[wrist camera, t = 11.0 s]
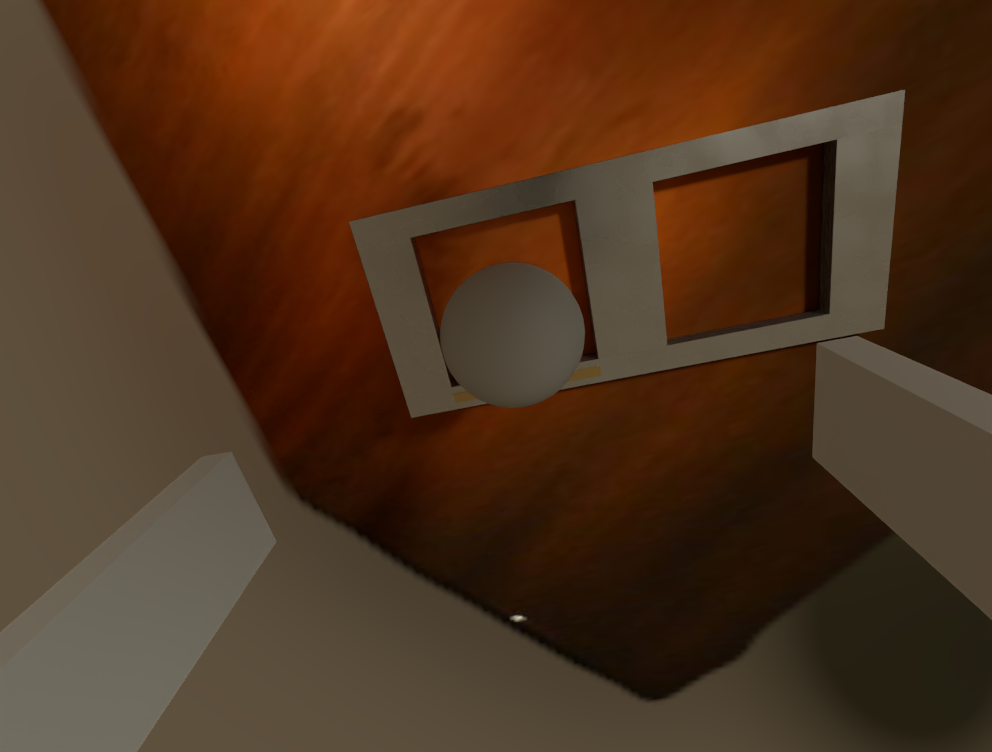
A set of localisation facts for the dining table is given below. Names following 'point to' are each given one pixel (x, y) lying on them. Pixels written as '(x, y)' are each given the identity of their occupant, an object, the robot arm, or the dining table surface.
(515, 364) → the lightbulb
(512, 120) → the dining table surface
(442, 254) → the dining table surface
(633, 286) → the grey window frame
